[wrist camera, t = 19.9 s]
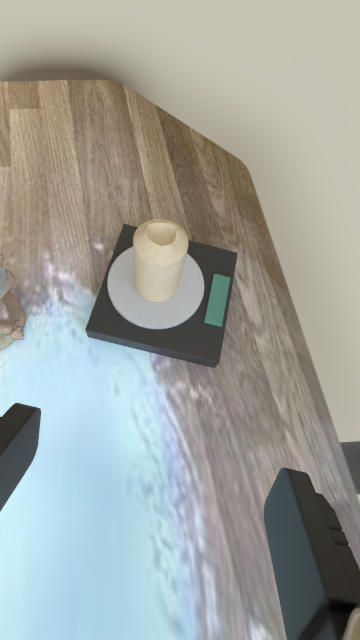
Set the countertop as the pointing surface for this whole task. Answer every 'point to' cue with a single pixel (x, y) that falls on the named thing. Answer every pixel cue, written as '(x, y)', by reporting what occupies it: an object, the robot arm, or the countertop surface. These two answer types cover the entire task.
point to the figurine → (9, 310)
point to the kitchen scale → (167, 305)
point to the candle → (158, 259)
